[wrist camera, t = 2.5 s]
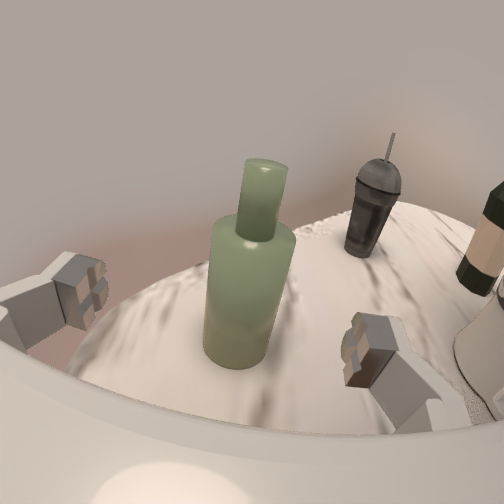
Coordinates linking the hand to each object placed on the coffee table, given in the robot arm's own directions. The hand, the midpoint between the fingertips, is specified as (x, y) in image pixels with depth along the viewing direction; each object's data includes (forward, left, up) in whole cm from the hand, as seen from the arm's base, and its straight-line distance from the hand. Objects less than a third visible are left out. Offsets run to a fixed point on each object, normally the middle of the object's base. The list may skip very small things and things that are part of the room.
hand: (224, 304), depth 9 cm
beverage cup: (-3, -40, -16) cm, 43 cm away
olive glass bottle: (+4, -12, -16) cm, 20 cm away
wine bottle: (-27, -46, -16) cm, 55 cm away
